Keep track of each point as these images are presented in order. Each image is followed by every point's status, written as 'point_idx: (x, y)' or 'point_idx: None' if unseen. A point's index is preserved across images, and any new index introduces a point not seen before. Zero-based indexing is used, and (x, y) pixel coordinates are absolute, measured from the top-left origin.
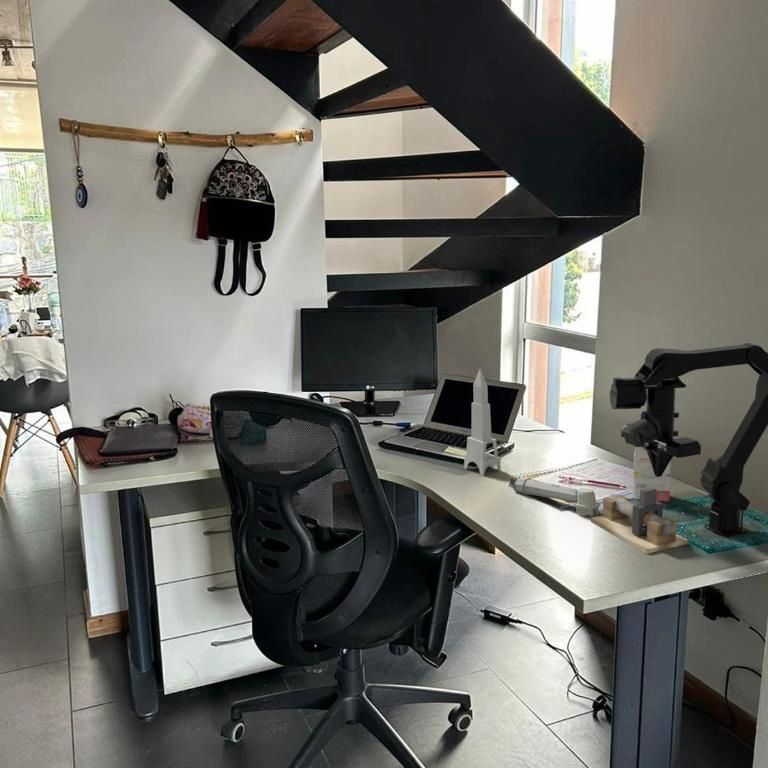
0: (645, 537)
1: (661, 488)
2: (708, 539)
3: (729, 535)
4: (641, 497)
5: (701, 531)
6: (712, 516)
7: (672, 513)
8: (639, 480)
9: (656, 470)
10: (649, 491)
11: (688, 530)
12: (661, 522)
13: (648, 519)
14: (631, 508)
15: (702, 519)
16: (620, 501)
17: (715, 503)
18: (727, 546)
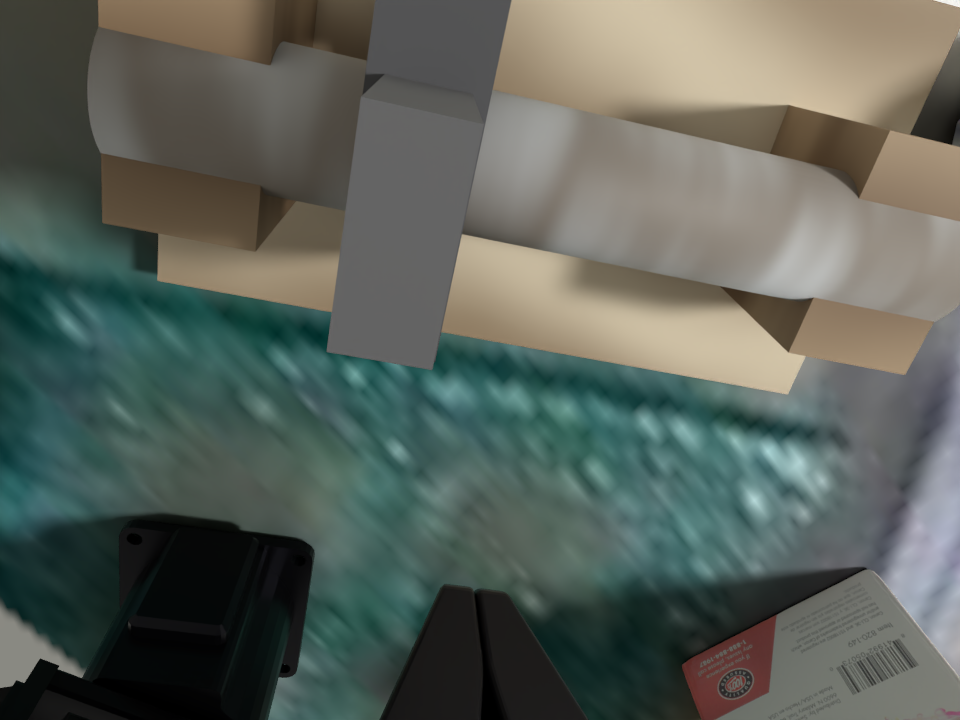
0: (369, 37)
1: (754, 716)
2: (163, 425)
3: (122, 541)
4: (443, 102)
5: (279, 486)
6: (202, 598)
7: (570, 564)
8: (919, 694)
9: (456, 671)
10: (349, 210)
11: (336, 443)
12: (127, 48)
13: (329, 63)
14: (625, 147)
15: (400, 612)
16: (813, 204)
17: (198, 708)
18: (20, 426)
